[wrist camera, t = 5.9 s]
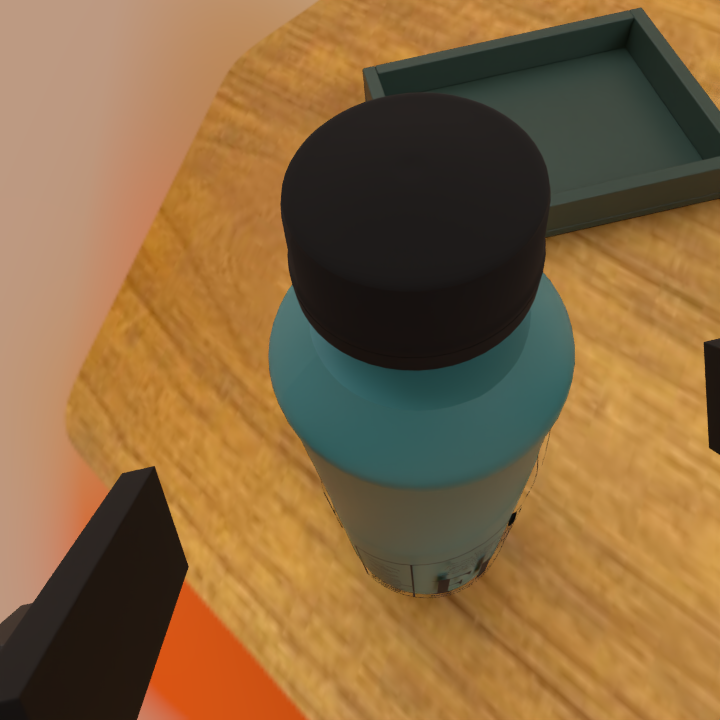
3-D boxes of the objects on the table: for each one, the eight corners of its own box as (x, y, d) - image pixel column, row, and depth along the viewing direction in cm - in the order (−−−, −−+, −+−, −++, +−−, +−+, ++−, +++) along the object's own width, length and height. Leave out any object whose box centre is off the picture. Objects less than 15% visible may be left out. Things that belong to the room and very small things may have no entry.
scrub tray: (418, 266, 32) (417, 235, 30) (365, 103, 39) (362, 68, 37) (734, 195, 32) (757, 159, 30) (629, 44, 39) (641, 6, 37)
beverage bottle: (432, 641, 23) (455, 510, 6) (314, 526, 26) (89, 199, 9) (532, 517, 25) (772, 140, 8) (413, 421, 28) (395, -23, 10)
